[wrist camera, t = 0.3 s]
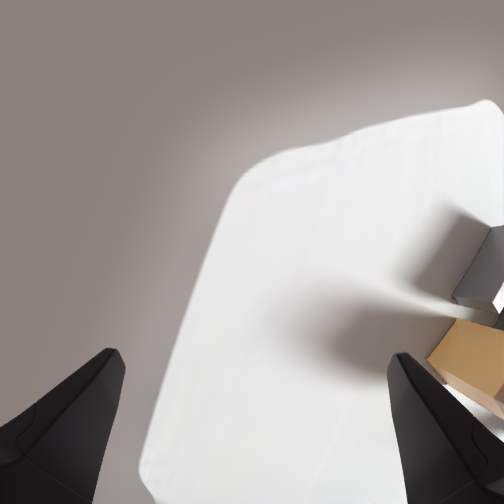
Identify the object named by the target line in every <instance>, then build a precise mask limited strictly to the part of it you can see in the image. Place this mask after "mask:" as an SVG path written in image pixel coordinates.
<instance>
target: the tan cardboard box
mask: <svg viewBox="0 0 504 504" xmlns="http://www.w3.org/2000/svg"><path fill="white" fill-rule="evenodd" d="M426 360H427V361H428V362H429V363H430V364H431V365H432V367H433V368H434V369H435V370H436V371H437V372H438V373H439V374H440V376H441V377H442V378H443V379H444V380H445V381H446V382H447V384H448V385H449V386H451V387H452V388H454V389H456V390H457V391H459V392H460V393H462V394H463V395H465V396H466V397H468V398H470V399H471V400H473V401H474V402H476V403H477V404H479V405H481V406H482V407H484V408H485V409H487V410H488V411H490V412H492V413H493V414H495V415H496V416H498V417H499V418H501V419H503V420H504V331H502V330H498V329H495V328H491V327H488V326H484V325H480V324H477V323H473V322H470V321H466V320H463V319H459V318H457V320H456V321H455V322H454V324H453V325H452V327H451V328H450V329H449V331H448V332H447V334H446V335H445V336H444V338H443V339H442V340H441V342H440V343H439V344H438V346H437V347H436V348H435V349H434V351H433V352H432V353H431V355H430V356H429V357H428V358H427V359H426Z"/></svg>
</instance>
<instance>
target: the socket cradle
mask: <svg viewBox="0 0 504 504" xmlns="http://www.w3.org/2000/svg"><path fill="white" fill-rule="evenodd" d="M452 297H453V298H454V299H455V301H456V302H457V303H458V305H460V306H465V307H470V308H474V309H479V310H484V311H488V312H493V313H498V314H500V312H501V310H502V308H503V307H504V225H503V226H497V227H492V228H491V230H490V232H489V233H488V235H487V237H486V239H485V241H484V243H483V245H482V246H481V248H480V250H479V252H478V254H477V255H476V257H475V259H474V260H473V262H472V264H471V265H470V267H469V269H468V270H467V272H466V274H465V275H464V277H463V278H462V280H461V282H460V283H459V285H458V286H457V288H456V289H455V291H454V292H453V294H452ZM494 328H495V329H498V330H502V331H504V311H503V313H502V315H501V316H500V318H499V320H498V321H497V323H496V325H495V326H494Z"/></svg>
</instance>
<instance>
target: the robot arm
mask: <svg viewBox="0 0 504 504" xmlns="http://www.w3.org/2000/svg"><path fill="white" fill-rule="evenodd" d="M125 369H126V368H125V364H124V361H123V360H122V357H121V355H120V353H119V351H118V350H117V349H113V348H105V349H104V350H103V351H101V352H100V353H99V354H97V355H96V356H95V357H93V358H92V359H91V360H89V361H88V362H87V363H86V364H84V365H83V366H82V367H80V368H79V369H78V370H77V371H75V372H74V373H73V374H71V375H70V376H69V377H67V378H66V379H65V380H64V381H62V382H61V383H60V384H58V385H57V386H56V387H55V388H53V389H52V390H51V391H49V392H48V393H47V394H46V395H44V396H43V397H42V398H41V399H39V400H38V401H37V402H36V403H34V404H33V405H32V406H30V407H29V408H28V409H26V410H25V411H24V412H22V413H21V414H20V415H18V416H17V417H15V418H14V419H12V420H11V421H9V422H8V423H6V424H5V425H3V426H1V427H0V504H92V501H93V497H94V493H95V488H96V484H97V480H98V476H99V472H100V468H101V465H102V461H103V457H104V453H105V450H106V446H107V442H108V439H109V436H110V432H111V428H112V425H113V422H114V419H115V415H116V412H117V409H118V404H119V400H120V394H121V389H122V384H123V380H124V374H125ZM387 379H388V387H389V395H390V403H391V412H392V418H393V423H394V428H395V432H396V437H397V442H398V447H399V452H400V458H401V463H402V469H403V475H404V481H405V488H406V494H407V502H408V504H504V442H502V441H501V440H500V439H499V438H498V437H496V436H495V435H494V434H493V433H492V432H490V431H489V430H488V429H487V428H486V427H485V426H484V425H483V424H482V423H481V422H480V421H479V420H478V419H477V418H476V417H473V414H472V413H471V412H469V411H468V410H467V409H466V408H465V407H464V406H463V405H462V404H461V403H460V402H459V401H458V400H457V399H456V398H455V397H454V396H453V395H452V394H451V393H450V392H449V391H448V390H447V389H446V388H445V387H444V386H442V385H441V384H440V383H439V382H438V381H437V380H436V379H435V378H434V377H433V376H432V375H431V374H430V373H429V372H428V371H427V370H426V369H424V368H423V367H422V366H421V365H420V364H419V363H418V362H417V361H416V360H415V359H414V358H413V357H412V356H410V355H409V354H408V353H407V352H398V353H395V354H394V355H393V357H392V359H391V362H390V364H389V367H388V370H387Z"/></svg>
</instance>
